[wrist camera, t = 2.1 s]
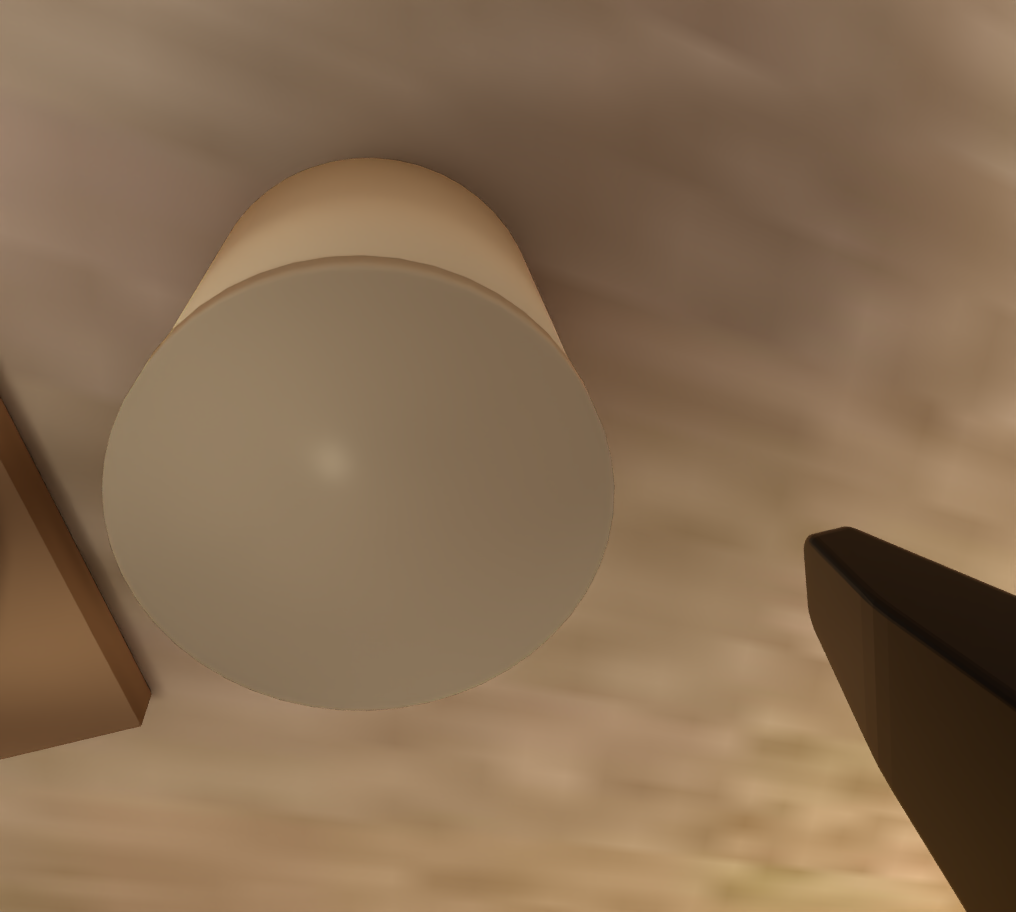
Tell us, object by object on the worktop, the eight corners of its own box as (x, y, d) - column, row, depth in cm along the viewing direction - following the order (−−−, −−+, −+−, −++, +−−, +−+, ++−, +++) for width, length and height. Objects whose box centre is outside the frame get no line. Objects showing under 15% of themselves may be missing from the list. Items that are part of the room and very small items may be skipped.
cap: (564, 429, 19) (647, 650, 13) (268, 499, 19) (210, 754, 13) (500, 117, 16) (566, 211, 10) (153, 200, 16) (9, 344, 10)
